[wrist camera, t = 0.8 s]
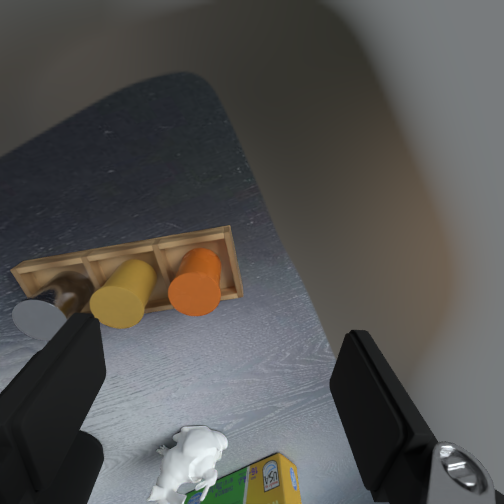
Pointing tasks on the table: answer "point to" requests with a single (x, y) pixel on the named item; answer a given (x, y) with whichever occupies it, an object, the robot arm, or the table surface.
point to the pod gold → (124, 294)
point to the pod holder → (150, 251)
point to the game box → (254, 485)
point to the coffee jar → (76, 473)
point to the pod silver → (53, 305)
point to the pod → (196, 283)
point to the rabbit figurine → (188, 463)
